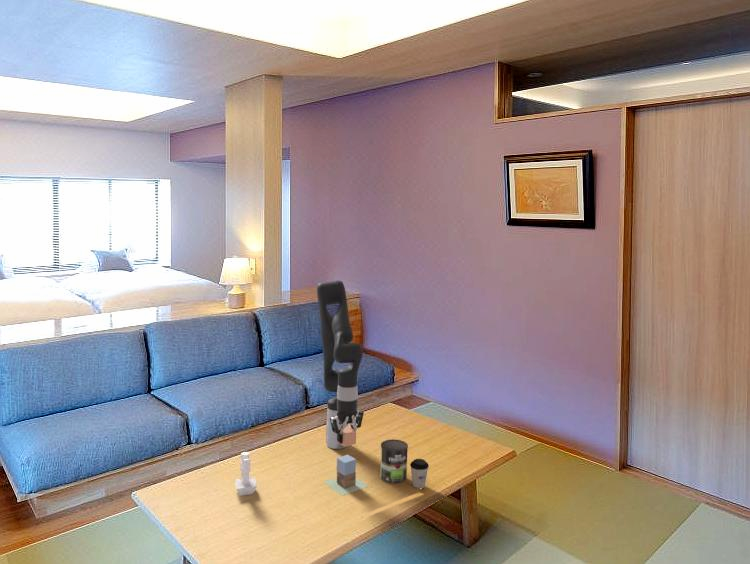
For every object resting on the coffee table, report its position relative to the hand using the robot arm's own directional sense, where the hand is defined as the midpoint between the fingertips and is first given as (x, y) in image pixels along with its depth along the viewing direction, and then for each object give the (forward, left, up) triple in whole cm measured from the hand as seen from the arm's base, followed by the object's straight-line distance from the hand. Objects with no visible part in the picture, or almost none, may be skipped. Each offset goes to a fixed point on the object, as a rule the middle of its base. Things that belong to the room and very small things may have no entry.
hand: (346, 440), depth 212 cm
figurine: (-18, -32, -18) cm, 41 cm away
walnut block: (0, 0, -17) cm, 17 cm away
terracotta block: (0, 0, -1) cm, 1 cm away
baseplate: (0, 0, -18) cm, 18 cm away
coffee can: (+6, +18, -18) cm, 26 cm away
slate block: (0, 0, -12) cm, 12 cm away
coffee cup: (+16, +22, -18) cm, 33 cm away
